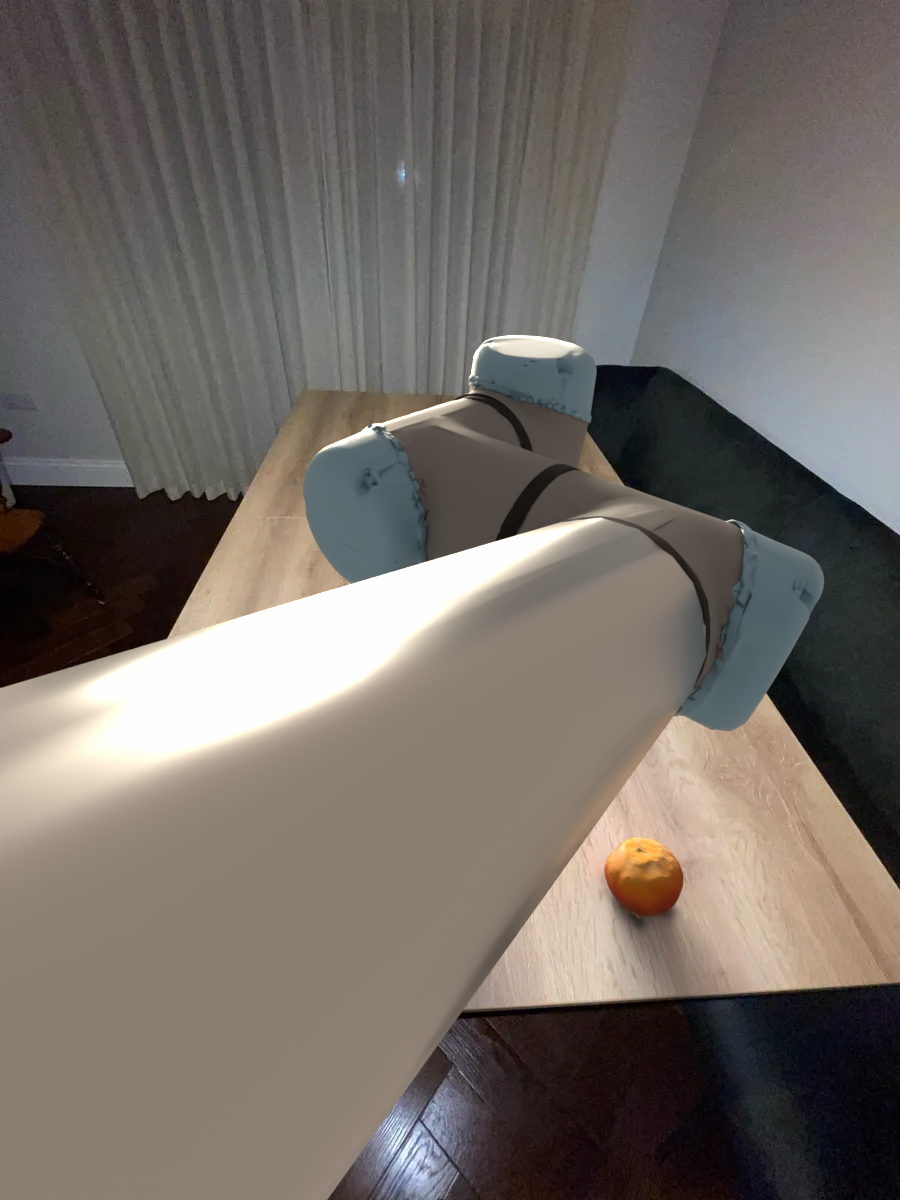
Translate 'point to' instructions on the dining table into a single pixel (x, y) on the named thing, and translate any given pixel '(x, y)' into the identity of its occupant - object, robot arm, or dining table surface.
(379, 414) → the dining table surface
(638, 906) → the fruit
